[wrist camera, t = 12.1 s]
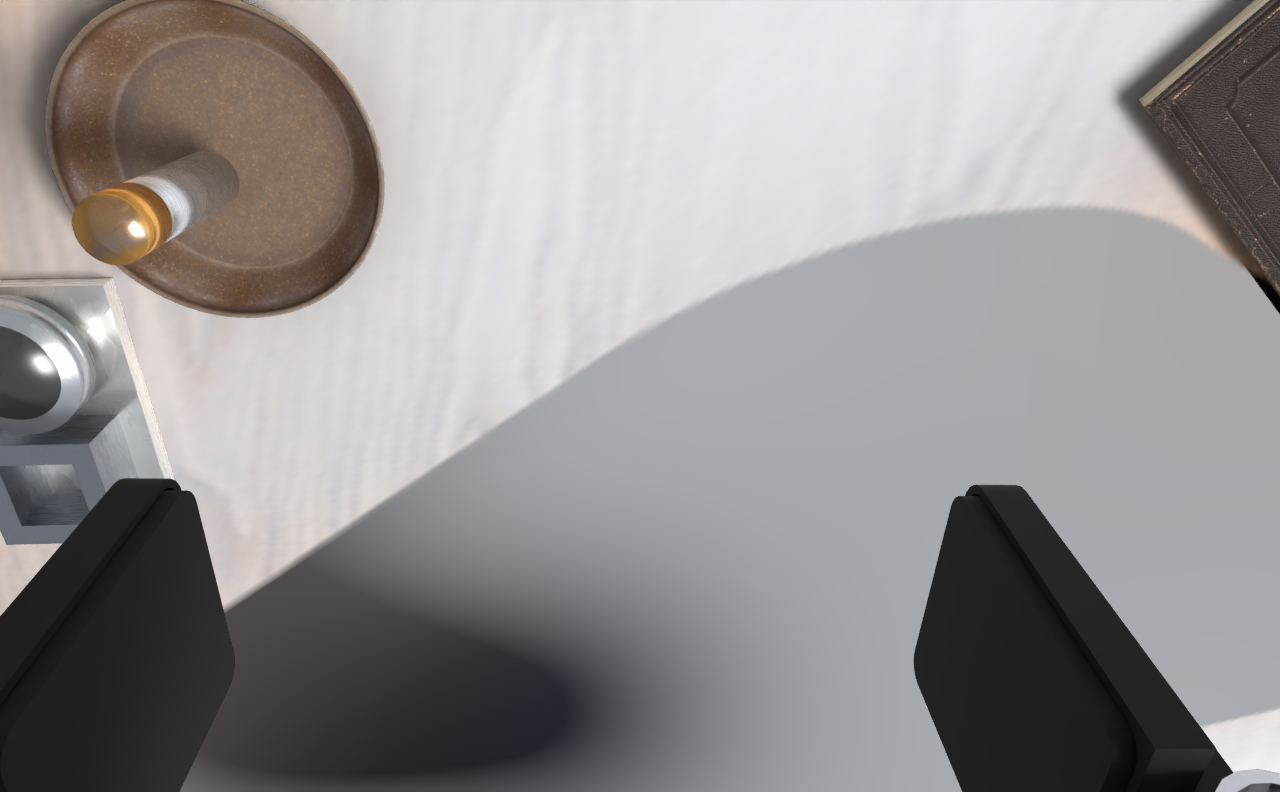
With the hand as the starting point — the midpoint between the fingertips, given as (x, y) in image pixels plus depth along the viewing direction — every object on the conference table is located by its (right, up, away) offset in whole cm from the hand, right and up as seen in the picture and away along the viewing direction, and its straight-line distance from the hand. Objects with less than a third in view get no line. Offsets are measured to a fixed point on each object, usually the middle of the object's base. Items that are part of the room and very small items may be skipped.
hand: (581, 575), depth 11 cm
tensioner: (-31, +2, +37) cm, 48 cm away
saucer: (-19, +14, +32) cm, 39 cm away
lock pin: (-19, +12, +29) cm, 37 cm away
